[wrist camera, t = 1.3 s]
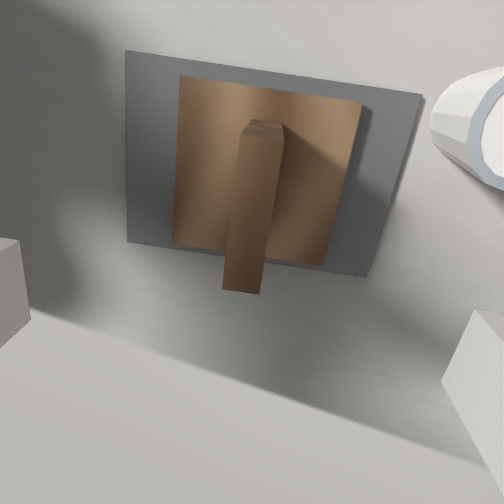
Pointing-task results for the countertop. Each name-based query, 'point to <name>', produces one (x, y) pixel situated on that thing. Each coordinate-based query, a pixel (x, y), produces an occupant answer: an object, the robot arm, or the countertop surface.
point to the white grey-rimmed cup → (473, 125)
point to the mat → (170, 68)
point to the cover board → (297, 170)
